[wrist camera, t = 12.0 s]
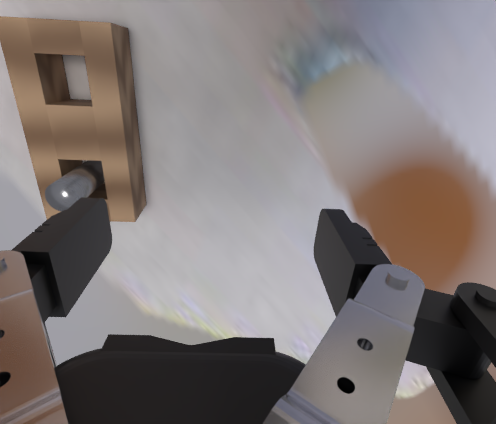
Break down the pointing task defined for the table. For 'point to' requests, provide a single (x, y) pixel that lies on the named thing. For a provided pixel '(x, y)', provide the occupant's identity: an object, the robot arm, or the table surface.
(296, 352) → the table surface
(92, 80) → the hole block
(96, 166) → the peg
